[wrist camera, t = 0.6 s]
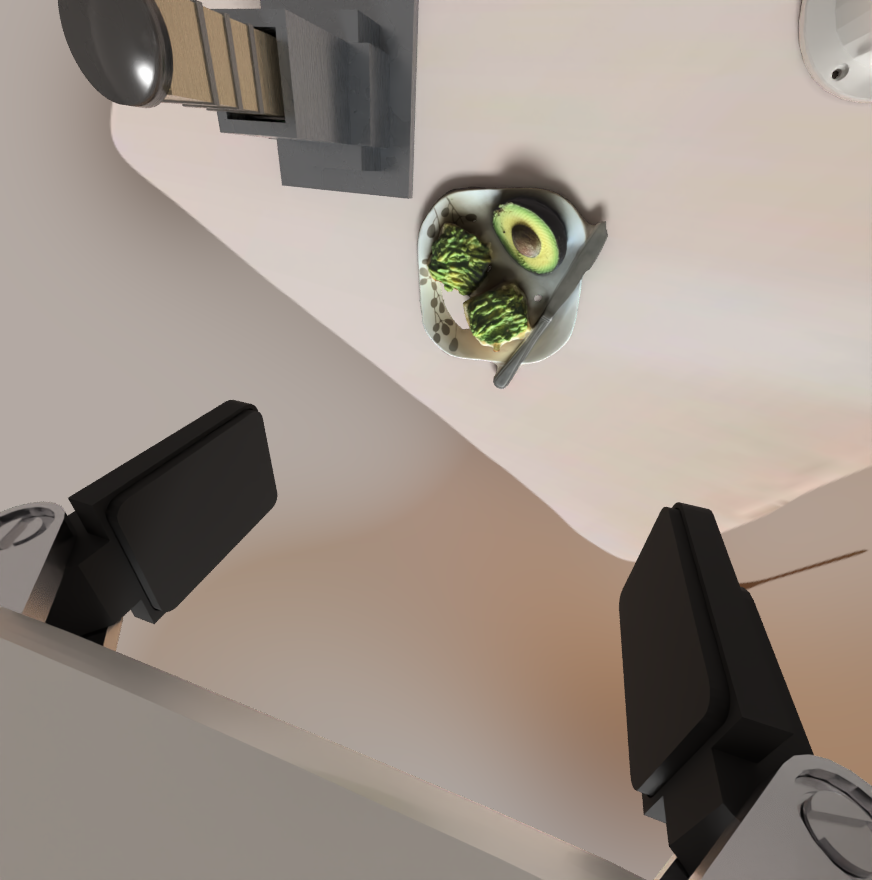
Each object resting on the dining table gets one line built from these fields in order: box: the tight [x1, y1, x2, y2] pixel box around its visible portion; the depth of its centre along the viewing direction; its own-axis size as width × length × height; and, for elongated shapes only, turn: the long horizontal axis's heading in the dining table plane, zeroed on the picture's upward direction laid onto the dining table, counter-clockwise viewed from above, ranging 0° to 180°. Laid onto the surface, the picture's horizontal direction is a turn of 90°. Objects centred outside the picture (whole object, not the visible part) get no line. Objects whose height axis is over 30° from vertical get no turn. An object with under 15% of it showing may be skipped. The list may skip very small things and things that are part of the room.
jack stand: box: [210, 0, 419, 199], centre depth 33 cm, size 14×14×13 cm
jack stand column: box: [58, 0, 286, 123], centre depth 28 cm, size 5×5×22 cm
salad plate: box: [417, 187, 608, 389], centre depth 41 cm, size 19×18×5 cm
